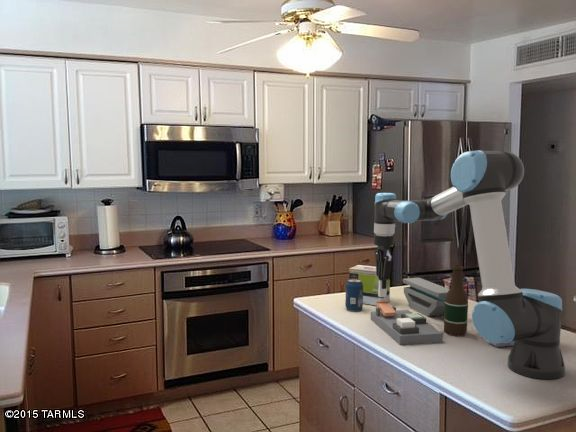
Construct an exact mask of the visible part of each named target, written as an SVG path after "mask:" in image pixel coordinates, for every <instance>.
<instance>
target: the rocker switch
mask: <svg viewBox="0 0 576 432" xmlns="http://www.w3.org/2000/svg"><path fill="white" fill-rule="evenodd" d="M375 306H376V307H379V308H380V311H381V312H382V314H383V315H384V316H396V311H395V310H394V309H393V308H392V307H393V306H392V305H391V304H390V300H389V301H388V300H381V301H376V305H375Z"/></svg>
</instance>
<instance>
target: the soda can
mask: <svg viewBox="0 0 576 432" xmlns="http://www.w3.org/2000/svg"><path fill="white" fill-rule="evenodd" d="M344 304H345V308H346V310H347V311H349V312H360V311H361V310H362V309H363V307H364V304H363V284H362V280H360V279H349V278H348V279H347V281H346V283H345V303H344Z"/></svg>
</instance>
